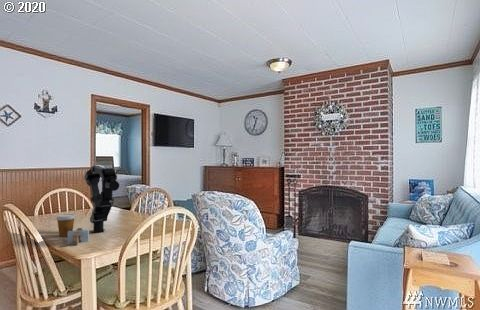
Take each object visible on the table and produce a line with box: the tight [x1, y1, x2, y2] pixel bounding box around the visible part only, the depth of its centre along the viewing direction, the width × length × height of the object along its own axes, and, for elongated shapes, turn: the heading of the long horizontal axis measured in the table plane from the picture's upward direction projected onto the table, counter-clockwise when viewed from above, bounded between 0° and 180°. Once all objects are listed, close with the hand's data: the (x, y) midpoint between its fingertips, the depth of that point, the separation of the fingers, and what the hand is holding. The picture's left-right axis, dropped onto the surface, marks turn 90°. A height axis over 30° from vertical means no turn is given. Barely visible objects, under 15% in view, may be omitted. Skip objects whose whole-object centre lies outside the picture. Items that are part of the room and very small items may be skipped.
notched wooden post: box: [72, 227, 83, 247], centre depth 158 cm, size 14×2×6 cm, turn 19°
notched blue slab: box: [67, 229, 90, 244], centre depth 158 cm, size 2×10×6 cm, turn 109°
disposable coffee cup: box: [55, 213, 76, 238], centre depth 170 cm, size 10×10×12 cm
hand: (107, 215), depth 170 cm, fingers open, 9 cm apart
